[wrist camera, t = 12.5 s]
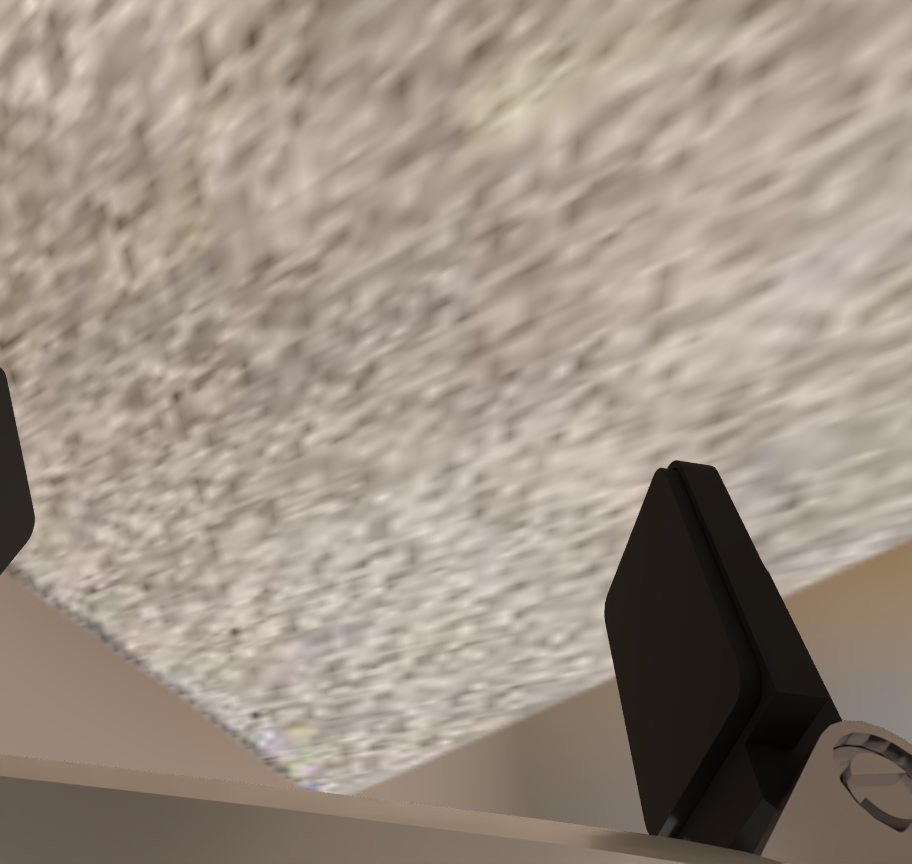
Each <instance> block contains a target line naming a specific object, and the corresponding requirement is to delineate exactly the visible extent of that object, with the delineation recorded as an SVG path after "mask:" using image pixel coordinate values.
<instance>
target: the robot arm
mask: <svg viewBox="0 0 912 864" xmlns="http://www.w3.org/2000/svg"><path fill="white" fill-rule="evenodd" d="M34 523H35V515H34V509H33V505H32V500H31V495H30V490H29V485H28V480H27V475H26V470H25V466H24V461H23V456H22V451H21V446H20V441H19V436H18V431H17V426H16V422H15V417H14V412H13V407H12V402H11V397H10V392H9V387H8V382H7V378H6V375H5V372H4V371H3V370H2V369H1V368H0V575H1V573H2V572H3V571H4V570H5V568H6V567H7V566H8V565H9V564H10V562H11V561H12V560H13V559H14V557H15V556H16V555H17V554H18V552H19V551H20V550H21V549H22V548H23V546H24V545H25V544H26V543H27V541H28V540H29V538H30V536H31V534H32V532H33V528H34ZM604 614H605V624H606V629H607V634H608V639H609V644H610V649H611V654H612V659H613V664H614V669H615V674H616V679H617V684H618V689H619V694H620V699H621V704H622V710H623V715H624V719H625V725H626V730H627V735H628V740H629V745H630V749H631V755H632V760H633V765H634V770H635V775H636V780H637V785H638V791H639V795H640V800H641V806H642V811H643V816H644V821H645V825H646V828H647V831H648V833H649V835H647V834H640V833H632V832H626V831H619V830H612V829H605V828H598V827H591V826H584V825H577V824H569V823H562V822H555V821H548V820H541V819H533V818H525V817H517V816H509V815H501V814H492V813H485V812H477V811H469V810H461V809H453V808H445V807H437V806H429V805H421V804H413V803H405V802H397V801H389V800H380V799H372V798H365V797H357V796H349V795H341V794H333V793H325V792H317V791H308V790H300V789H292V788H283V787H275V786H266V785H258V784H250V783H241V782H233V781H225V780H217V779H208V778H200V777H191V776H183V775H175V774H166V773H157V772H149V771H141V770H132V769H124V768H116V767H107V766H98V765H90V764H82V763H73V762H65V761H56V760H48V759H39V758H30V757H21V756H13V755H4V754H0V864H912V745H911V744H910V743H909V742H907V741H906V740H905V739H903V738H901V737H899V736H897V735H895V734H894V733H892V732H890V731H888V730H886V729H884V728H882V727H879V726H875V725H872V724H869V723H866V722H863V721H846V720H844V721H842V719H841V717H840V715H839V713H838V711H837V709H836V707H835V705H834V703H833V701H832V699H831V697H830V695H829V693H828V691H827V689H826V687H825V685H824V683H823V681H822V679H821V677H820V675H819V673H818V671H817V669H816V667H815V665H814V663H813V661H812V659H811V657H810V655H809V653H808V650H807V649H806V647H805V644H804V642H803V640H802V639H801V636H800V634H799V632H798V630H797V628H796V626H795V624H794V622H793V620H792V618H791V616H790V614H789V612H788V610H787V608H786V606H785V604H784V602H783V600H782V598H781V596H780V594H779V592H778V590H777V588H776V586H775V584H774V582H773V580H772V578H771V576H770V574H769V572H768V571H767V569H766V568H765V566H764V565H763V563H762V561H761V559H760V557H759V555H758V552H757V550H756V548H755V546H754V544H753V542H752V540H751V538H750V536H749V534H748V532H747V530H746V528H745V526H744V524H743V522H742V520H741V518H740V516H739V514H738V512H737V510H736V508H735V506H734V504H733V502H732V500H731V498H730V495H729V493H728V491H727V489H726V487H725V485H724V483H723V481H722V479H721V477H720V475H719V473H718V471H717V470H716V468H715V467H713V466H710V465H703V464H697V463H690V462H684V461H677V460H675V461H673V462H672V463H671V464H670V465H669V466H668V468H667V469H665V468H659V469H658V470H657V471H656V472H655V474H654V476H653V479H652V481H651V484H650V487H649V489H648V492H647V494H646V497H645V499H644V502H643V504H642V507H641V510H640V512H639V515H638V517H637V520H636V522H635V525H634V528H633V530H632V533H631V535H630V538H629V540H628V543H627V546H626V548H625V551H624V553H623V556H622V558H621V561H620V564H619V566H618V569H617V571H616V574H615V576H614V579H613V582H612V584H611V587H610V589H609V592H608V594H607V598H606V602H605V611H604Z"/></svg>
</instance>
